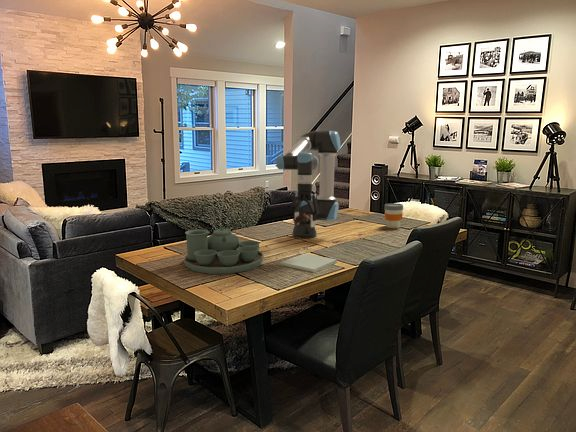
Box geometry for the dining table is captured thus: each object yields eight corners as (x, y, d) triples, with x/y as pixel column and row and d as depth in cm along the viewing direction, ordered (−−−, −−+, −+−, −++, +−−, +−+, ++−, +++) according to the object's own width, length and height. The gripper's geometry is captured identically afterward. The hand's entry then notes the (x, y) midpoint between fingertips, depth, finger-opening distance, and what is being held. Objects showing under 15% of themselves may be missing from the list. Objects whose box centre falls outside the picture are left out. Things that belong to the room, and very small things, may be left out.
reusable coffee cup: (405, 225, 316) (406, 204, 313) (399, 229, 305) (399, 206, 303) (387, 224, 322) (388, 202, 320) (380, 227, 312) (381, 205, 309)
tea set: (207, 280, 208) (206, 245, 205) (172, 260, 240) (170, 229, 237) (279, 264, 231) (279, 232, 228) (238, 248, 263) (237, 220, 260)
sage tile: (281, 265, 230) (281, 262, 229) (304, 256, 245) (304, 253, 245) (314, 272, 217) (314, 269, 217) (336, 262, 233) (336, 259, 233)
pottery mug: (310, 230, 235) (302, 216, 233) (296, 236, 240) (288, 223, 239) (319, 220, 244) (311, 207, 243) (305, 226, 250) (298, 213, 248)
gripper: (283, 182, 242) (283, 224, 245) (318, 184, 228) (318, 229, 232) (292, 181, 247) (292, 222, 251) (327, 183, 233) (326, 227, 237)
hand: (304, 225), depth 241 cm, fingers closed on pottery mug, 10 cm apart
